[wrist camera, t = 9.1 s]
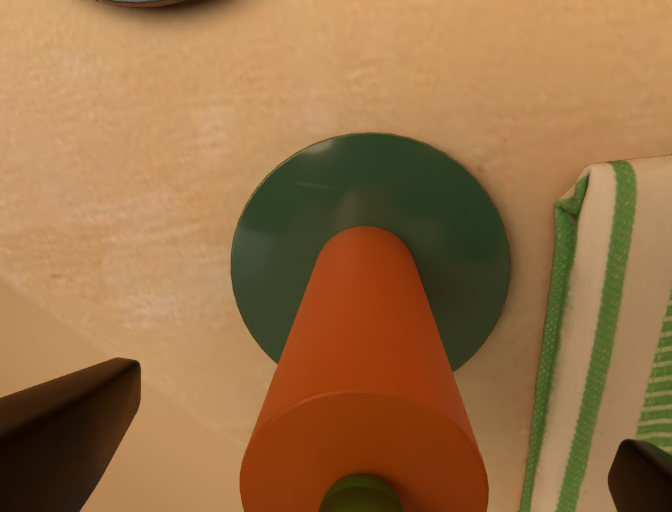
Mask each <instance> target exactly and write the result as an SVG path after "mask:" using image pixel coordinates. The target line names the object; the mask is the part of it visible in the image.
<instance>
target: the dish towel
mask: <svg viewBox="0 0 672 512" xmlns="http://www.w3.org/2000/svg"><path fill="white" fill-rule="evenodd" d="M554 225H555V246H554V254H553V262H552V272H551V281H550V288H549V294H548V303H547V312H546V317H545V323H544V330H543V338H542V348H541V354H540V359H539V365H538V371H537V379H536V386H535V397H534V407H533V416H532V425H531V435H530V441H529V452H528V458H527V466H526V474H525V480H524V487H523V493H522V499H521V506H520V512H617V510H616V507H615V504H614V502H613V499H612V496H611V494H610V491H609V488H608V473H609V470H610V468H611V465H612V462H613V460H614V457H615V455H616V452H617V449H618V447H619V445H620V443H621V442H622V441H623V440H625V439H634V440H641V441H647V442H650V443H652V444H654V445H655V446H657V447H659V448H660V449H662V450H664V451H665V452H667V453H669V454H670V455H672V154H670V155H664V156H656V157H648V158H639V159H628V160H618V161H609V162H603V163H595V164H591V165H588V166H587V167H586V168H584V169H583V170H582V172H581V173H580V175H579V177H578V178H577V181H576V183H575V184H574V185H573V186H572V187H571V188H570V189H569V190H568V191H567V192H566V193H565V194H564V195H563V196H562V197H561V198H559V199H558V200H557V202H556V203H555V204H554Z"/></svg>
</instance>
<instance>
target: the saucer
mask: <svg viewBox="0 0 672 512" xmlns="http://www.w3.org/2000/svg"><path fill="white" fill-rule="evenodd" d="M358 226H372V227H377V228H381V229H384V230H387V231H389V232H391V233H392V234H394V235H395V236H397V237H398V238H399V239H400V240H402V241H403V242H404V244H405V245H406V246H407V247H408V249H409V251H410V252H411V254H412V256H413V259H414V262H415V265H416V268H417V270H418V273H419V276H420V279H421V282H422V285H423V288H424V291H425V294H426V297H427V300H428V303H429V305H430V308H431V311H432V314H433V317H434V320H435V323H436V326H437V329H438V332H439V335H440V337H441V340H442V343H443V346H444V349H445V352H446V355H447V358H448V361H449V364H450V367H451V370H452V372H454V371H456V370H457V369H458V368H460V367H461V366H462V365H463V364H464V363H465V362H467V361H468V360H469V359H470V358H471V357H472V356H473V355H474V354H475V353H476V352H477V350H478V349H479V348H480V347H481V346H482V345H483V343H484V342H485V340H486V339H487V338H488V336H489V335H490V333H491V332H492V330H493V328H494V326H495V324H496V322H497V320H498V318H499V316H500V314H501V311H502V308H503V305H504V302H505V299H506V295H507V290H508V285H509V278H510V254H509V244H508V240H507V236H506V232H505V228H504V225H503V222H502V220H501V217H500V215H499V212H498V210H497V208H496V206H495V205H494V203H493V201H492V199H491V198H490V196H489V194H488V193H487V192H486V190H485V189H484V188H483V186H482V185H481V184H480V183H479V181H478V180H477V179H476V178H475V177H474V176H473V175H472V174H471V173H470V172H469V171H468V170H467V169H466V168H465V167H464V166H463V165H461V164H460V163H458V162H457V161H456V160H454V159H453V158H451V157H450V156H449V155H447V154H446V153H444V152H442V151H440V150H438V149H436V148H434V147H432V146H430V145H428V144H426V143H423V142H420V141H417V140H414V139H412V138H409V137H404V136H399V135H394V134H390V133H376V132H365V133H351V134H346V135H341V136H336V137H332V138H329V139H326V140H323V141H320V142H317V143H314V144H312V145H310V146H308V147H306V148H304V149H302V150H300V151H298V152H296V153H295V154H293V155H292V156H290V157H289V158H287V159H286V160H285V161H283V162H282V163H280V164H279V165H278V166H277V167H276V168H275V169H274V170H273V171H271V172H270V173H269V174H268V175H267V176H266V177H265V178H264V180H263V181H262V182H261V183H260V184H259V186H258V187H257V188H256V189H255V190H254V192H253V194H252V195H251V197H250V199H249V200H248V202H247V203H246V205H245V207H244V209H243V212H242V214H241V216H240V218H239V221H238V223H237V227H236V230H235V234H234V237H233V243H232V250H231V280H232V287H233V292H234V296H235V300H236V303H237V307H238V309H239V311H240V314H241V316H242V319H243V321H244V323H245V325H246V326H247V328H248V330H249V332H250V333H251V335H252V337H253V338H254V339H255V341H256V342H257V343H258V345H259V346H260V347H261V348H262V350H263V351H264V352H265V353H266V354H267V355H268V356H269V357H270V358H271V359H272V360H273V361H274V362H275V363H277V364H278V363H279V361H280V358H281V355H282V352H283V350H284V347H285V344H286V342H287V339H288V336H289V334H290V331H291V328H292V326H293V323H294V320H295V318H296V315H297V312H298V310H299V307H300V304H301V301H302V299H303V296H304V293H305V291H306V288H307V285H308V283H309V280H310V277H311V275H312V272H313V269H314V267H315V264H316V261H317V259H318V256H319V254H320V252H321V250H322V249H323V247H324V246H325V244H326V243H327V242H328V241H329V240H330V239H331V238H333V237H334V236H335V235H337V234H338V233H340V232H342V231H344V230H346V229H350V228H353V227H358Z"/></svg>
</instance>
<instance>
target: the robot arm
mask: <svg viewBox="0 0 672 512" xmlns="http://www.w3.org/2000/svg"><path fill="white" fill-rule="evenodd" d="M140 400H141V366H140V363H139V362H138V361H137V360H132V359H126V358H114V359H111V360H108V361H105V362H102V363H99V364H96V365H93V366H91V367H88V368H85V369H82V370H79V371H76V372H73V373H70V374H68V375H65V376H62V377H59V378H56V379H53V380H51V381H48V382H45V383H42V384H39V385H36V386H33V387H31V388H27V389H24V390H22V391H19V392H16V393H13V394H10V395H8V396H4V397H2V398H0V512H79V511H80V510H81V508H82V507H83V506H84V504H85V503H86V501H87V500H88V498H89V497H90V495H91V494H92V492H93V491H94V489H95V487H96V485H97V484H98V482H99V481H100V479H101V477H102V475H103V474H104V472H105V470H106V468H107V466H108V465H109V463H110V461H111V459H112V457H113V455H114V453H115V451H116V449H117V448H118V446H119V444H120V442H121V441H122V438H123V437H124V435H125V433H126V431H127V429H128V428H129V426H130V424H131V422H132V420H133V418H134V416H135V415H136V413H137V411H138V408H139V405H140ZM608 488H609V491H610V494H611V496H612V499H613V502H614V504H615V507H616V510H617V512H672V455H670V454H669V453H667V452H665V451H664V450H662V449H660V448H659V447H657V446H655V445H654V444H652V443H650V442H647V441H641V440H634V439H625V440H623V441H622V442H621V443H620V445H619V447H618V449H617V452H616V455H615V457H614V460H613V462H612V465H611V468H610V470H609V473H608Z"/></svg>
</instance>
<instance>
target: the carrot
mask: <svg viewBox="0 0 672 512" xmlns="http://www.w3.org/2000/svg"><path fill="white" fill-rule="evenodd" d="M240 493H241V500H242V505H243V508H244V512H486V510H487V506H488V495H489V487H488V479H487V473H486V470H485V466H484V463H483V460H482V457H481V454H480V451H479V448H478V445H477V442H476V439H475V437H474V434H473V431H472V428H471V425H470V422H469V419H468V416H467V413H466V410H465V407H464V405H463V402H462V399H461V396H460V393H459V390H458V387H457V384H456V381H455V378H454V375H453V372H452V370H451V367H450V364H449V361H448V358H447V355H446V352H445V349H444V346H443V343H442V340H441V337H440V335H439V332H438V329H437V326H436V323H435V320H434V317H433V314H432V311H431V308H430V305H429V303H428V300H427V297H426V294H425V291H424V288H423V285H422V282H421V279H420V276H419V273H418V270H417V268H416V265H415V262H414V259H413V256H412V254H411V252H410V251H409V249H408V247H407V246H406V245H405V244H404V242H403V241H402V240H400V239H399V238H398V237H397V236H395V235H394V234H392V233H391V232H389V231H387V230H384V229H381V228H377V227H372V226H358V227H353V228H350V229H346V230H344V231H342V232H340V233H338V234H337V235H335V236H334V237H333V238H331V239H330V240H329V241H328V242H327V243H326V244H325V246H324V247H323V249H322V250H321V252H320V254H319V256H318V259H317V261H316V264H315V267H314V269H313V272H312V275H311V277H310V280H309V283H308V285H307V288H306V291H305V293H304V296H303V299H302V301H301V304H300V307H299V310H298V312H297V315H296V318H295V320H294V323H293V326H292V328H291V331H290V334H289V336H288V339H287V342H286V344H285V347H284V350H283V352H282V355H281V358H280V361H279V363H278V366H277V369H276V371H275V374H274V377H273V379H272V382H271V385H270V387H269V390H268V393H267V395H266V398H265V401H264V403H263V406H262V409H261V412H260V414H259V417H258V420H257V422H256V425H255V428H254V430H253V433H252V436H251V438H250V441H249V444H248V446H247V449H246V452H245V455H244V458H243V461H242V465H241V471H240Z"/></svg>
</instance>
